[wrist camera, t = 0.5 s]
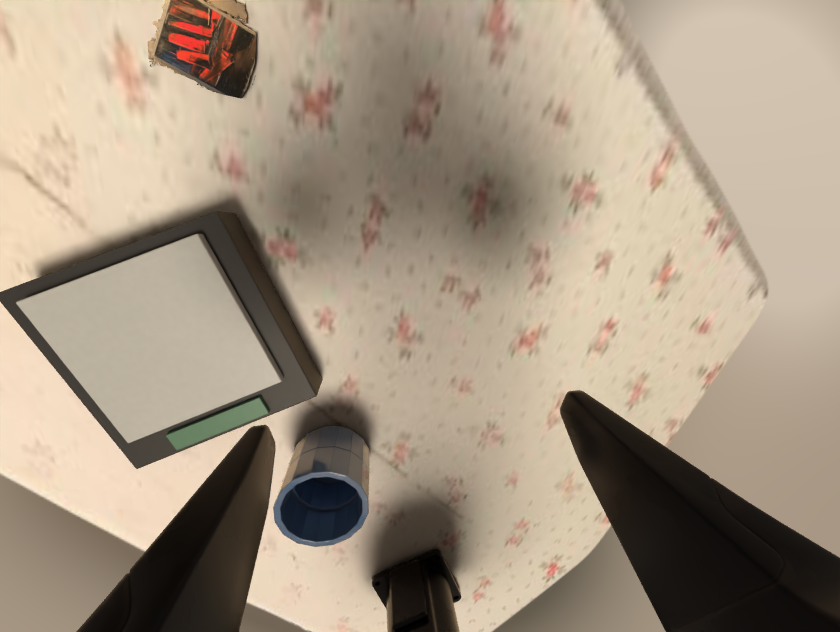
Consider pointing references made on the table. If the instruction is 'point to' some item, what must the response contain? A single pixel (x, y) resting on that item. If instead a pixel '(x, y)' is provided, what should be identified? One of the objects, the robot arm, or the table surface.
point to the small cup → (325, 488)
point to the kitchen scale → (170, 337)
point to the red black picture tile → (206, 44)
